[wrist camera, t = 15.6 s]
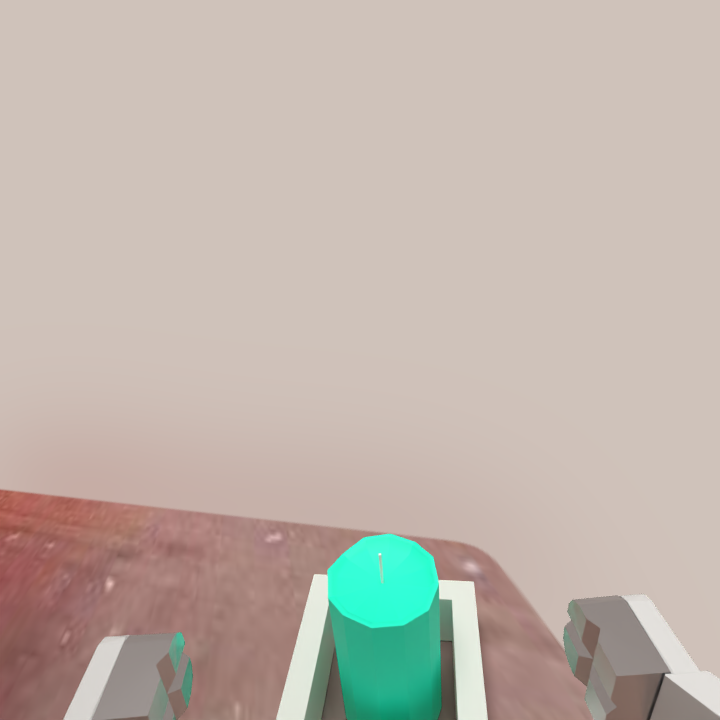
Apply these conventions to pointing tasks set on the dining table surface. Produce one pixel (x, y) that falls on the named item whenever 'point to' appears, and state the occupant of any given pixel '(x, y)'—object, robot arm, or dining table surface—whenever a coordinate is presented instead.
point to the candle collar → (317, 647)
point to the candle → (387, 629)
